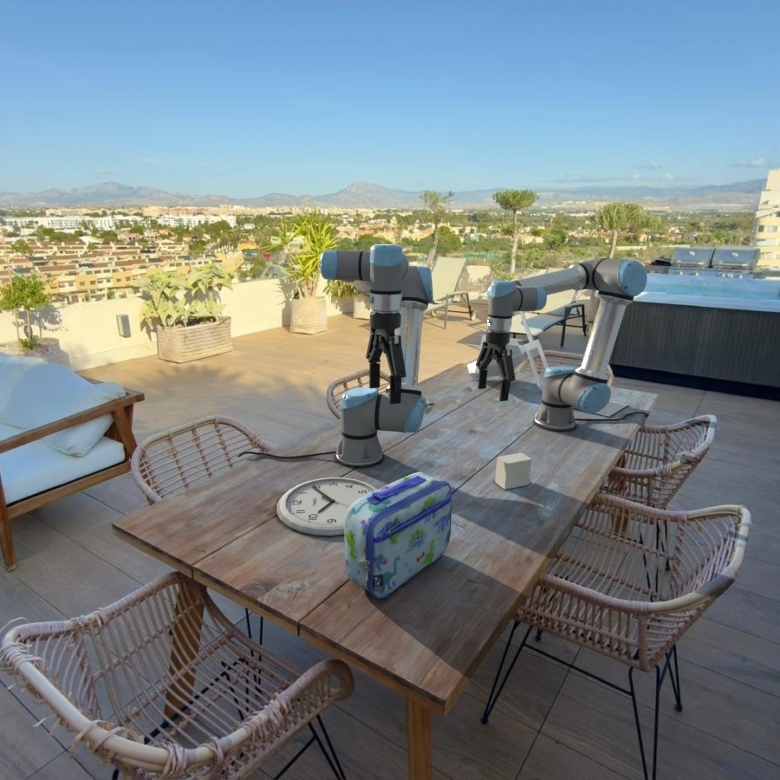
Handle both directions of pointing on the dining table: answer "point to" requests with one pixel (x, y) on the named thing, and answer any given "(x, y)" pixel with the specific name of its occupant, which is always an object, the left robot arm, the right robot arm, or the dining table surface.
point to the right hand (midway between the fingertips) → (492, 394)
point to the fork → (429, 402)
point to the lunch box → (397, 532)
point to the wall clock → (321, 504)
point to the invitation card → (611, 408)
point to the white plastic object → (514, 356)
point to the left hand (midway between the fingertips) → (384, 395)
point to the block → (513, 470)
